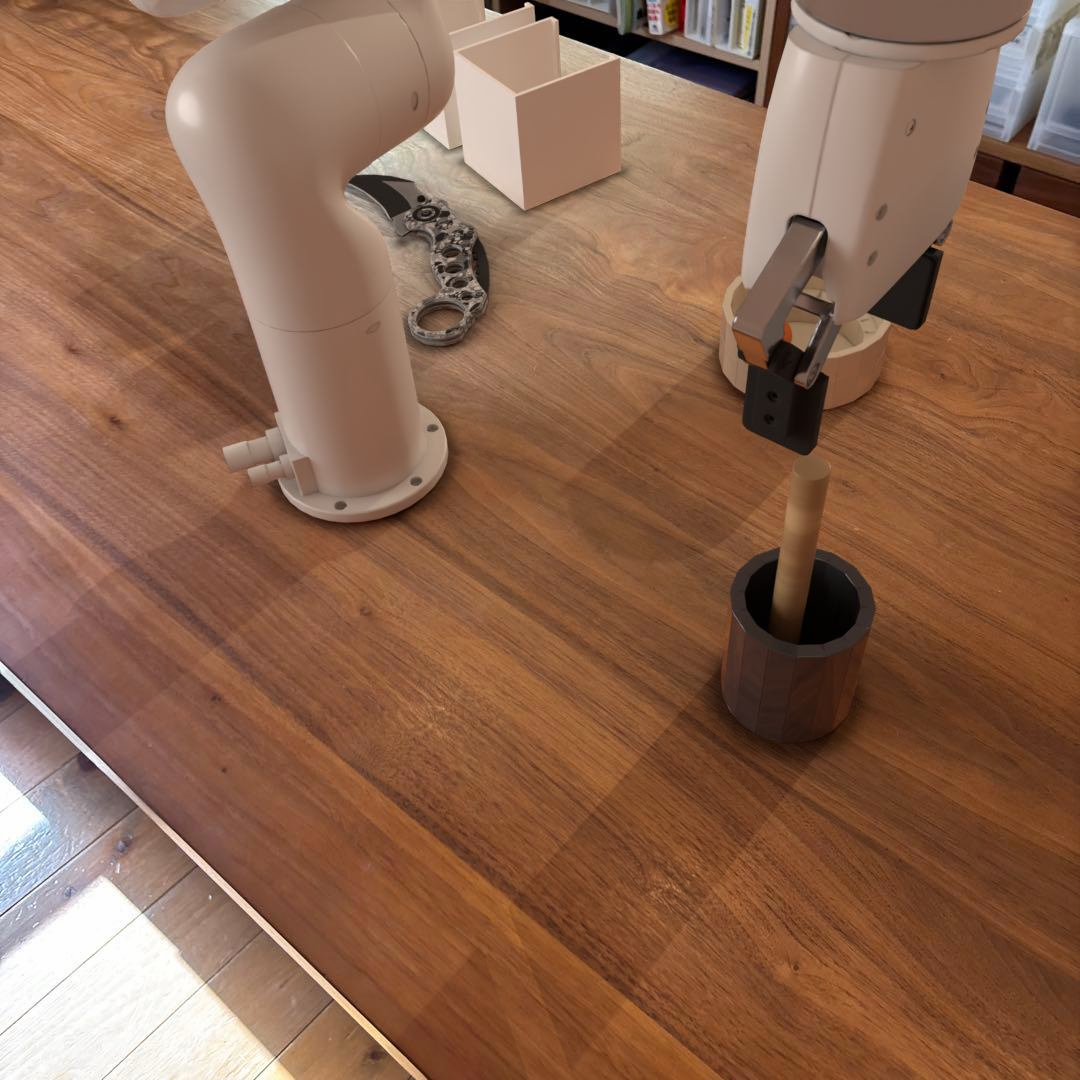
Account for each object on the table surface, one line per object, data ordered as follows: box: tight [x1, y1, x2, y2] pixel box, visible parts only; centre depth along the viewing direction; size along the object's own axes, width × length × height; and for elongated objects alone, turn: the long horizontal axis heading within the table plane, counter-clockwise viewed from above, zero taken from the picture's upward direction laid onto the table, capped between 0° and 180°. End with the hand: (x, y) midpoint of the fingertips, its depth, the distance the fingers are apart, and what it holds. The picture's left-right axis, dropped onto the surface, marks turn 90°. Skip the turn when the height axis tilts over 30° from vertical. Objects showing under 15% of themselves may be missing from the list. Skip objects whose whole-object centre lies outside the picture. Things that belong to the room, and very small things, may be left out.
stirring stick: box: [768, 453, 832, 645], centre depth 59 cm, size 2×2×18 cm
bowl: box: [718, 274, 893, 411], centre depth 84 cm, size 12×12×6 cm
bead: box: [783, 321, 792, 343], centre depth 85 cm, size 3×3×3 cm
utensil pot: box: [720, 546, 877, 744], centre depth 63 cm, size 8×8×9 cm
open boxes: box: [422, 0, 622, 212], centre depth 107 cm, size 25×11×11 cm, turn 33°
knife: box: [347, 173, 491, 347], centre depth 99 cm, size 28×2×10 cm
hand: (836, 374), depth 48 cm, fingers open, 9 cm apart
